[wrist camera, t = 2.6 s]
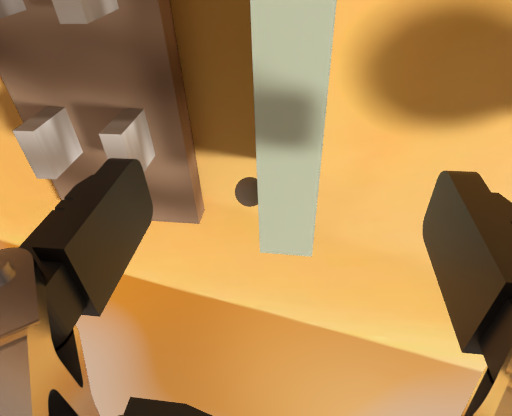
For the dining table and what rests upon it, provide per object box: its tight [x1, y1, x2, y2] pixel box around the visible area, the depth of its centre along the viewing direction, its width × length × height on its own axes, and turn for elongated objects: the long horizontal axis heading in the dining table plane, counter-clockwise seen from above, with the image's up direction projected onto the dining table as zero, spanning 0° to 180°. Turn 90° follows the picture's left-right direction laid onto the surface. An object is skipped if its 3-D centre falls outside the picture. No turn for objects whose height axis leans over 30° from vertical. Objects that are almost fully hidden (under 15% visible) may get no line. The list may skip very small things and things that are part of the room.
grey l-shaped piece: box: [0, 0, 204, 224], centre depth 15 cm, size 22×10×12 cm, turn 2°
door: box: [235, 0, 337, 256], centre depth 15 cm, size 13×4×8 cm, turn 2°
